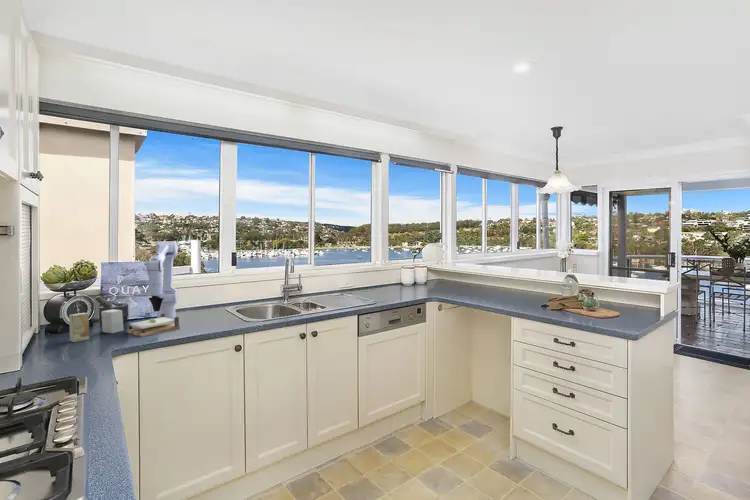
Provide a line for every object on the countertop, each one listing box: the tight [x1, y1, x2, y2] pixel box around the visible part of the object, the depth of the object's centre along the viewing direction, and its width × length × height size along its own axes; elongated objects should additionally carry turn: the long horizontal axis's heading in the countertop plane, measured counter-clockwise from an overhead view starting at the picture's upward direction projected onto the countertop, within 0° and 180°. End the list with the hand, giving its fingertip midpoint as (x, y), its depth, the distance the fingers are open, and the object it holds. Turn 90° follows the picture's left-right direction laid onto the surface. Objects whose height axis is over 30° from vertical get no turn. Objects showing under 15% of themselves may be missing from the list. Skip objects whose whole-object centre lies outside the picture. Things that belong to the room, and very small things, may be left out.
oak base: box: [126, 314, 181, 338], centre depth 189 cm, size 16×18×6 cm
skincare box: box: [68, 312, 90, 343], centre depth 174 cm, size 6×4×12 cm
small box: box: [100, 308, 124, 334], centre depth 189 cm, size 8×6×10 cm
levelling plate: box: [129, 317, 175, 329], centre depth 189 cm, size 12×17×2 cm
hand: (156, 311), depth 190 cm, fingers closed
